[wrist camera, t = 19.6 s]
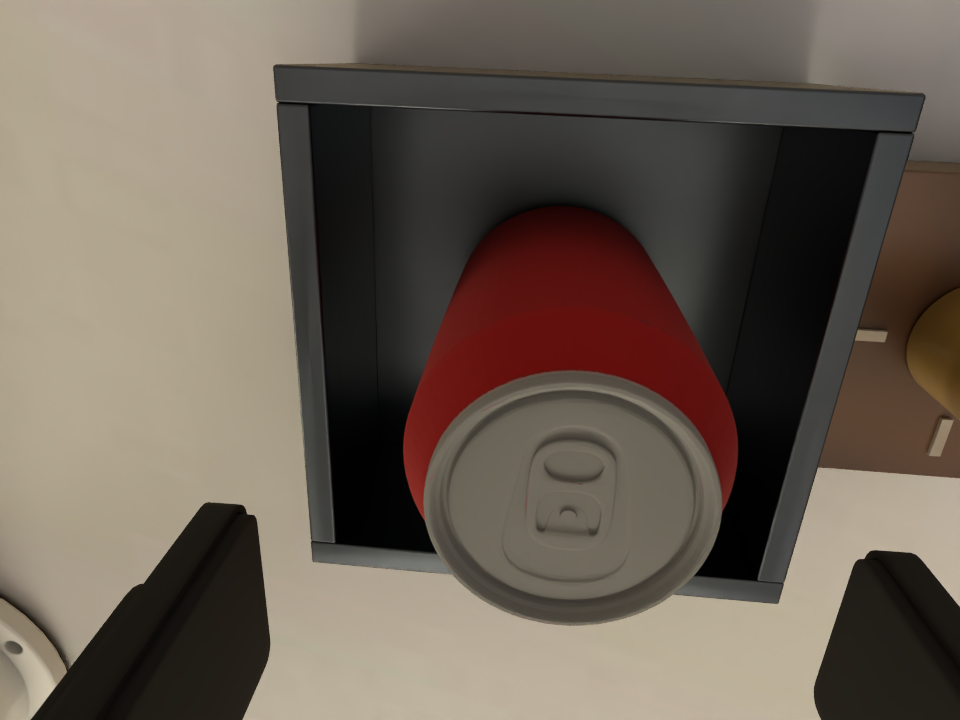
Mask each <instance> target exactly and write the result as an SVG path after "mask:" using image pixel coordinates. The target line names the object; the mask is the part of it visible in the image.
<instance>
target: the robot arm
mask: <svg viewBox="0 0 960 720" xmlns="http://www.w3.org/2000/svg"><path fill="white" fill-rule="evenodd" d="M269 651H270V634H269V625H268V616H267V607H266V598H265V589H264V580H263V571H262V562H261V553H260V544H259V535H258V526H257V520H256V517H255V516H254V515H247V513H246V509H245V507H244V506H242V505H238V504H224V503H210V502H208V503H205V504H204V505H203V506H202V507H201V508H200V509H199V510H198V512H197V513H196V514H195V516H194V517H193V518H192V520H191V521H190V522H189V524H188V525H187V526H186V528H185V529H184V530H183V532H182V533H181V534H180V536H179V537H178V538H177V540H176V541H175V542H174V544H173V545H172V546H171V548H170V549H169V550H168V552H167V553H166V554H165V556H164V557H163V558H162V560H161V561H160V562H159V564H158V565H157V566H156V568H155V569H154V571H153V572H152V573H151V575H150V576H149V577H148V579H147V580H146V581H145V583H144V584H139V585H137V586H135V587H133V588H132V589H131V590H130V591H129V592H128V593H127V595H126V596H125V597H124V598H123V600H122V601H121V602H120V603H119V605H118V606H117V607H116V609H115V610H114V611H113V613H112V614H111V615H110V617H109V618H108V619H107V620H106V622H105V623H104V624H103V626H102V627H101V628H100V630H99V631H98V632H97V634H96V635H95V636H94V637H93V639H92V640H91V641H90V643H89V644H88V645H87V647H86V648H85V649H84V651H83V652H82V653H81V654H80V656H79V657H78V658H77V660H76V661H75V662H74V664H73V665H72V666H71V668H70V669H69V670H68V671H66V667H65V665H64V663H63V661H62V659H61V658H60V656H59V654H58V652H57V650H56V648H55V647H54V646H53V645H52V643H51V642H50V641H49V639H48V638H47V637H46V636H45V634H44V633H43V632H42V631H41V630H40V629H39V628H38V627H37V626H36V625H35V624H34V623H33V622H32V621H31V620H30V619H29V618H28V617H27V616H26V615H24V614H23V613H22V612H20V611H19V610H17V609H16V608H15V607H13V606H12V605H11V604H9V603H8V602H7V601H5V600H4V599H2V598H0V720H242V719H243V717H244V715H245V712H246V710H247V708H248V706H249V703H250V701H251V699H252V696H253V694H254V692H255V690H256V687H257V685H258V683H259V680H260V678H261V676H262V674H263V671H264V669H265V667H266V664H267V661H268V657H269ZM814 700H815V705H816V708H817V711H818V713H819V716H820V718H821V720H960V607H959V606H958V604H957V603H956V602H955V601H954V599H953V598H952V597H951V596H950V595H949V593H948V592H947V591H946V590H945V588H944V587H943V586H942V585H941V583H940V582H939V581H938V580H937V579H936V577H935V576H934V575H933V574H932V572H931V571H930V570H929V569H928V567H927V566H926V565H925V564H924V563H923V561H922V560H921V559H920V558H919V557H918V556H917V555H915V554H912V553H905V552H891V551H878V550H874V551H870V552H869V553H868V554H867V555H866V557H865V559H859V560H857V561H856V562H855V564H854V566H853V569H852V572H851V575H850V578H849V581H848V584H847V587H846V590H845V594H844V597H843V600H842V603H841V606H840V609H839V612H838V615H837V618H836V621H835V624H834V627H833V630H832V633H831V636H830V639H829V642H828V645H827V648H826V651H825V654H824V657H823V661H822V664H821V667H820V670H819V673H818V676H817V679H816V682H815V686H814Z"/></svg>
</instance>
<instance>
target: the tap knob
mask: <svg viewBox="0 0 960 720" xmlns="http://www.w3.org/2000/svg"><path fill="white" fill-rule="evenodd" d="M906 352H907V364H908V368H909V371H910V373H911V375H912V377H913V379H914V380H915V381H916V382H917V384H918V385H919V386H921V387H922V388H923V389H924V390H925V391H926V392H927V393H929V394H930V395H931V396H932V397H933V398H934V399H936V400H937V401H938V402H939V403H940V404H941V405H943V406H944V407H945V408H946V409H947V410H948V411H950V412H951V413H952V414H953V415H954V416H955V417H956V418H958V419H959V420H960V288H958V289H955V290H953V291H951V292H949V293H948V294H946V295H944V296H943V297H941V298H940V299H938V300H937V301H936V302H935V303H933V304H932V305H931V306H930V307H929V308H928V309H927V310H926V311H925V312H924V313H923V314H922V316H921V317H920V318H919V320H918V321H917V323H916V324H915V326H914V328H913V330H912V332H911V334H910V337H909V340H908V344H907V351H906Z"/></svg>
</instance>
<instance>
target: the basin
mask: <svg viewBox="0 0 960 720" xmlns="http://www.w3.org/2000/svg"><path fill="white" fill-rule="evenodd" d="M273 71H274V83H275V96H276V101H277V102H280V103H277V119H278V131H279V144H280V156H281V169H282V181H283V194H284V206H285V219H286V231H287V244H288V256H289V269H290V281H291V294H292V306H293V319H294V331H295V344H296V356H297V369H298V381H299V393H300V406H301V418H302V431H303V443H304V456H305V468H306V481H307V493H308V506H309V518H310V531H311V540H312V542H311V547H312V560H313V562H319V563H330V564H341V565H352V566H363V567H374V568H385V569H396V570H407V571H419V572H430V573H441V574H452V573H451V572H450V571H449V570H448V569H447V567H446V566H445V565H444V563H443V562H442V560H441V559H440V557H439V555H438V554H437V552H436V550H435V548H434V546H433V544H432V542H431V539H430V536H429V533H428V530H427V526H426V522H425V520H424V519H423V517H422V515H421V514H420V512H419V510H418V508H417V506H416V504H415V502H414V499H413V496H412V494H411V491H410V488H409V484H408V480H407V477H406V472H405V466H404V455H403V444H404V433H405V426H406V422H407V418H408V414H409V411H410V408H411V405H412V402H413V400H414V397H415V394H416V391H417V388H418V386H419V383H420V380H421V377H422V374H423V372H424V369H425V366H426V363H427V360H428V358H429V355H430V352H431V349H432V346H433V344H434V341H435V339H436V336H437V334H438V331H439V328H440V326H441V323H442V321H443V318H444V316H445V313H446V310H447V308H448V305H449V303H450V300H451V298H452V295H453V293H454V290H455V288H456V286H457V283H458V281H459V279H460V276H461V274H462V272H463V269H464V267H465V265H466V263H467V261H468V259H469V257H470V256H471V254H472V252H473V251H474V250H475V248H476V247H477V245H478V244H479V243H480V242H481V241H482V240H483V239H484V238H485V237H486V236H487V235H488V234H489V233H490V232H491V231H492V230H493V229H495V228H496V227H497V226H499V225H500V224H502V223H503V222H505V221H507V220H508V219H510V218H512V217H514V216H516V215H518V214H521V213H524V212H527V211H530V210H533V209H537V208H543V207H551V206H570V207H578V208H583V209H587V210H591V211H594V212H597V213H600V214H602V215H604V216H606V217H608V218H610V219H612V220H614V221H615V222H617V223H619V224H620V225H621V226H623V227H624V228H625V229H627V230H628V231H629V232H630V233H631V234H632V235H633V236H634V237H635V238H636V239H637V240H638V241H639V242H640V244H641V245H642V246H643V248H644V249H645V251H646V252H647V254H648V255H649V257H650V259H651V260H652V262H653V264H654V265H655V267H656V269H657V270H658V272H659V273H660V275H661V277H662V278H663V280H664V282H665V284H666V285H667V287H668V289H669V291H670V292H671V294H672V296H673V298H674V299H675V301H676V303H677V305H678V306H679V308H680V310H681V312H682V314H683V316H684V317H685V319H686V321H687V323H688V325H689V326H690V328H691V330H692V332H693V334H694V336H695V337H696V339H697V341H698V343H699V345H700V347H701V349H702V351H703V353H704V355H705V357H706V358H707V360H708V362H709V364H710V366H711V368H712V370H713V372H714V374H715V376H716V378H717V380H718V381H719V383H720V385H721V387H722V389H723V391H724V393H725V395H726V397H727V399H728V402H729V404H730V407H731V410H732V413H733V416H734V420H735V424H736V430H737V437H738V460H737V468H736V474H735V479H734V483H733V487H732V490H731V493H730V496H729V498H728V501H727V503H726V505H725V507H724V509H723V511H722V516H721V523H720V528H719V531H718V534H717V537H716V540H715V543H714V546H713V548H712V549H711V551H710V553H709V555H708V557H707V559H706V560H705V562H704V563H703V565H702V566H701V567H700V569H699V570H698V571H697V573H696V574H695V575H694V576H693V577H692V578H691V579H690V580H689V581H688V582H687V583H686V584H685V585H684V586H683V587H682V588H681V589H680V590H678V591H677V592H676V593H674V594H673V595H684V596H695V597H706V598H717V599H728V600H740V601H751V602H762V603H773V604H778V603H779V599H780V596H781V592H782V589H783V585H784V581H785V578H786V575H787V571H788V568H789V564H790V561H791V557H792V554H793V551H794V547H795V544H796V540H797V537H798V533H799V530H800V527H801V523H802V520H803V516H804V513H805V509H806V506H807V503H808V499H809V496H810V492H811V489H812V485H813V482H814V479H815V475H816V472H817V468H818V465H819V461H820V458H821V455H822V451H823V448H824V444H825V441H826V437H827V434H828V431H829V427H830V424H831V420H832V417H833V413H834V410H835V407H836V403H837V400H838V396H839V393H840V389H841V386H842V382H843V379H844V376H845V372H846V369H847V365H848V362H849V358H850V355H851V352H852V348H853V345H854V341H855V338H856V334H857V331H858V328H859V324H860V321H861V317H862V314H863V310H864V307H865V304H866V300H867V297H868V293H869V290H870V286H871V283H872V280H873V276H874V273H875V269H876V266H877V262H878V259H879V256H880V252H881V249H882V245H883V242H884V238H885V235H886V232H887V228H888V225H889V221H890V218H891V214H892V211H893V208H894V204H895V201H896V197H897V194H898V190H899V187H900V184H901V180H902V177H903V173H904V170H905V166H906V163H907V160H908V156H909V153H910V149H911V146H912V142H913V139H914V134H913V133H912V132H915V131H916V128H917V125H918V121H919V118H920V114H921V111H922V108H923V104H924V101H925V94H923V93H913V92H901V91H890V90H878V89H867V88H855V87H844V86H832V85H821V84H810V83H789V82H767V81H744V80H721V79H699V78H676V77H654V76H631V75H608V74H586V73H563V72H541V71H518V70H495V69H473V68H450V67H427V66H405V65H382V64H360V63H338V64H276V65H274V67H273Z"/></svg>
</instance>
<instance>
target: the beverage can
mask: <svg viewBox="0 0 960 720" xmlns="http://www.w3.org/2000/svg"><path fill="white" fill-rule="evenodd" d="M403 455H404V466H405V472H406V477H407V480H408V484H409V488H410V491H411V494H412V496H413V499H414V502H415V504H416V506H417V508H418V510H419V512H420V514H421V515H422V517H423V519H424V520H425V522H426V526H427V530H428V533H429V536H430V539H431V542H432V544H433V546H434V548H435V550H436V552H437V554H438V555H439V557H440V559H441V560H442V562H443V563H444V565H445V566H446V567H447V569H448V570H449V571H450V572H451V573H452V575H453V576H454V577H455V578H456V579H457V580H458V581H459V582H460V583H461V584H462V585H463V586H464V587H466V588H467V589H468V590H469V591H471V592H472V593H473V594H475V595H476V596H477V597H479V598H480V599H482V600H483V601H485V602H487V603H489V604H490V605H492V606H494V607H496V608H498V609H500V610H502V611H505V612H507V613H510V614H512V615H515V616H518V617H521V618H524V619H528V620H532V621H537V622H541V623H546V624H555V625H568V626H574V625H594V624H601V623H606V622H612V621H617V620H620V619H624V618H627V617H630V616H633V615H636V614H639V613H641V612H643V611H645V610H648V609H650V608H652V607H654V606H656V605H658V604H660V603H661V602H663V601H664V600H666V599H667V598H669V597H670V596H672V595H673V594H674V593H676V592H677V591H678V590H680V589H681V588H682V587H683V586H684V585H685V584H686V583H687V582H688V581H689V580H690V579H691V578H692V577H693V576H694V575H695V574H696V573H697V571H698V570H699V569H700V567H701V566H702V565H703V563H704V562H705V560H706V559H707V557H708V555H709V553H710V551H711V549H712V548H713V546H714V543H715V540H716V537H717V534H718V531H719V528H720V523H721V516H722V511H723V509H724V507H725V505H726V503H727V501H728V498H729V496H730V493H731V490H732V487H733V483H734V479H735V474H736V468H737V460H738V437H737V430H736V424H735V420H734V416H733V413H732V410H731V407H730V404H729V402H728V399H727V397H726V395H725V393H724V391H723V389H722V387H721V385H720V383H719V381H718V380H717V378H716V376H715V374H714V372H713V370H712V368H711V366H710V364H709V362H708V360H707V358H706V357H705V355H704V353H703V351H702V349H701V347H700V345H699V343H698V341H697V339H696V337H695V336H694V334H693V332H692V330H691V328H690V326H689V325H688V323H687V321H686V319H685V317H684V316H683V314H682V312H681V310H680V308H679V306H678V305H677V303H676V301H675V299H674V298H673V296H672V294H671V292H670V291H669V289H668V287H667V285H666V284H665V282H664V280H663V278H662V277H661V275H660V273H659V272H658V270H657V269H656V267H655V265H654V264H653V262H652V260H651V259H650V257H649V255H648V254H647V252H646V251H645V249H644V248H643V246H642V245H641V244H640V242H639V241H638V240H637V239H636V238H635V237H634V236H633V235H632V234H631V233H630V232H629V231H628V230H627V229H625V228H624V227H623V226H621V225H620V224H619V223H617V222H615V221H614V220H612V219H610V218H608V217H606V216H604V215H602V214H600V213H597V212H594V211H591V210H587V209H583V208H578V207H570V206H551V207H543V208H537V209H533V210H530V211H527V212H524V213H521V214H518V215H516V216H514V217H512V218H510V219H508V220H507V221H505V222H503V223H502V224H500V225H499V226H497V227H496V228H495V229H493V230H492V231H491V232H490V233H489V234H488V235H487V236H486V237H485V238H484V239H483V240H482V241H481V242H480V243H479V244H478V245H477V247H476V248H475V250H474V251H473V252H472V254H471V256H470V257H469V259H468V261H467V263H466V265H465V267H464V269H463V272H462V274H461V276H460V279H459V281H458V283H457V286H456V288H455V290H454V293H453V295H452V298H451V300H450V303H449V305H448V308H447V310H446V313H445V316H444V318H443V321H442V323H441V326H440V328H439V331H438V334H437V336H436V339H435V341H434V344H433V346H432V349H431V352H430V355H429V358H428V360H427V363H426V366H425V369H424V372H423V374H422V377H421V380H420V383H419V386H418V388H417V391H416V394H415V397H414V400H413V402H412V405H411V408H410V411H409V414H408V418H407V422H406V426H405V433H404V444H403Z"/></svg>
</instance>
